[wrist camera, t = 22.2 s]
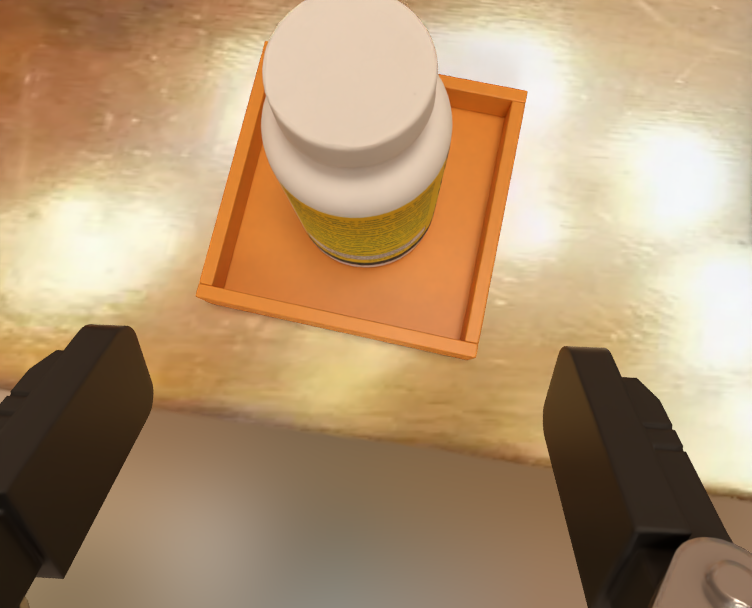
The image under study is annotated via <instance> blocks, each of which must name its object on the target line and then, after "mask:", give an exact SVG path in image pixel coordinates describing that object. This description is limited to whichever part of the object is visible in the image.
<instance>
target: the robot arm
mask: <svg viewBox="0 0 752 608" xmlns="http://www.w3.org/2000/svg"><path fill="white" fill-rule="evenodd" d="M152 403H153V384H152V381H151V378H150V375H149V372H148V369H147V366H146V363H145V360H144V357H143V354H142V351H141V348H140V345H139V342H138V339H137V336H136V333H135V332H134V330H133V329H132V328H131V327H129V326H116V325H93V324H89V325H85V326H84V327H82V328H81V329H80V330H79V332H78V333H77V334H76V335H75V337H74V338H73V339H72V340H71V342H70V343H69V344H68V346H67V347H66V348H65V349H64V351H63V350H56V351H55V352H53V353H52V354H50V355H49V356H47V357H46V358H44V359H43V360H42V361H40V362H39V363H37V364H36V365H34V366H33V367H32V368H30V369H29V370H28V371H27V372H26V374H25V375H24V376H23V377H22V378H21V380H20V381H19V382H18V383H17V384H16V386H15V387H14V388H13V389H12V390H11V395H10V396H6V398H5V399H4V400H3V401H2V402H1V404H0V608H30V607H29V603H28V600H27V599H26V597H25V595H26V593H27V591H28V589H29V588H30V586H31V584H32V582H33V581H34V579H35V577H42V578H58V579H64V577H65V575H66V573H67V571H68V570H69V567H70V566H71V564H72V562H73V560H74V558H75V556H76V554H77V552H78V550H79V548H80V547H81V545H82V543H83V541H84V539H85V537H86V535H87V533H88V531H89V529H90V527H91V525H92V524H93V522H94V519H95V518H96V516H97V514H98V512H99V510H100V508H101V506H102V504H103V502H104V501H105V499H106V497H107V494H108V493H109V491H110V489H111V487H112V485H113V483H114V481H115V479H116V477H117V476H118V474H119V472H120V470H121V468H122V466H123V464H124V462H125V460H126V458H127V456H128V454H129V453H130V451H131V449H132V447H133V445H134V443H135V441H136V439H137V437H138V435H139V433H140V431H141V430H142V428H143V426H144V424H145V422H146V420H147V418H148V416H149V414H150V411H151V408H152ZM543 430H544V436H545V440H546V444H547V448H548V452H549V456H550V460H551V464H552V468H553V472H554V476H555V480H556V484H557V487H558V491H559V495H560V499H561V503H562V507H563V511H564V515H565V519H566V523H567V527H568V531H569V535H570V539H571V543H572V547H573V550H574V554H575V558H576V562H577V566H578V570H579V574H580V578H581V582H582V586H583V590H584V594H585V598H586V602H587V606H588V608H752V553H750V552H749V551H747V550H745V549H744V548H742V547H740V546H737V545H736V544H734V543H733V542H732V540H731V539H730V537H729V535H728V533H727V532H726V530H725V528H724V526H723V524H722V522H721V520H720V518H719V516H718V514H717V512H716V510H715V508H714V506H713V504H712V502H711V500H710V498H709V496H708V494H707V492H706V490H705V488H704V486H703V484H702V482H701V480H700V478H699V477H698V475H697V473H696V471H695V469H694V467H693V465H692V463H691V461H690V459H689V457H688V455H687V453H686V452H684V451H683V445H682V443H681V441H680V439H679V437H678V435H677V433H676V431H675V430H672V423H671V421H670V420H669V418H668V416H667V414H666V412H665V410H664V408H663V406H662V404H661V402H660V400H659V399H658V398H657V397H656V396H655V395H654V394H653V393H652V392H651V391H650V390H649V389H648V388H647V387H646V386H645V385H644V384H642V383H641V382H640V381H639V380H638V379H637V378H627V377H621V374H620V372H619V370H618V368H617V366H616V363H615V361H614V359H613V357H612V355H611V353H610V351H609V350H608V349H606V348H593V347H570V346H564V347H562V349H561V350H560V352H559V355H558V358H557V362H556V365H555V368H554V372H553V375H552V379H551V382H550V386H549V389H548V393H547V396H546V400H545V403H544V409H543Z"/></svg>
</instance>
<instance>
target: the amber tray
mask: <svg viewBox="0 0 752 608" xmlns="http://www.w3.org/2000/svg"><path fill="white" fill-rule="evenodd" d="M267 44H268V41H265V44H264V47H263V51H262V55H261V58H260V62H259V66H258V69H257V73H256V77H255V80H254V84H253V88H252V91H251V95H250V99H249V102H248V106H247V110H246V113H245V117H244V121H243V124H242V128H241V132H240V135H239V139H238V143H237V146H236V150H235V154H234V157H233V161H232V165H231V168H230V172H229V176H228V179H227V183H226V187H225V190H224V194H223V198H222V201H221V205H220V209H219V212H218V216H217V220H216V223H215V227H214V231H213V234H212V238H211V242H210V245H209V249H208V253H207V256H206V260H205V264H204V267H203V271H202V275H201V278H200V284H199V285H198V289H197V292H196V297H198V298H200V299H203V300H205V301H207V302H209V303H212V304H216V305H220V306H225V307H230V308H234V309H239V310H243V311H248V312H252V313H257V314H261V315H266V316H270V317H275V318H279V319H284V320H289V321H293V322H298V323H302V324H307V325H311V326H316V327H320V328H325V329H329V330H334V331H338V332H343V333H348V334H352V335H357V336H361V337H366V338H370V339H375V340H379V341H384V342H388V343H393V344H397V345H402V346H407V347H411V348H416V349H420V350H425V351H429V352H434V353H438V354H443V355H447V356H452V357H456V358H461V359H466V360H469V359H473V358H476V354H477V349H478V343H479V338H480V333H481V328H482V323H483V318H484V313H485V308H486V302H487V297H488V292H489V287H490V282H491V277H492V272H493V267H494V261H495V256H496V251H497V246H498V241H499V236H500V231H501V226H502V220H503V215H504V210H505V205H506V200H507V195H508V190H509V185H510V180H511V174H512V169H513V164H514V159H515V154H516V149H517V144H518V139H519V133H520V128H521V123H522V118H523V113H524V108H525V102H526V98H527V91H524V90H519V89H514V88H509V87H503V86H498V85H493V84H488V83H483V82H477V81H472V80H467V79H462V78H456V77H451V76H446V75H441V74H438V75H439V77H440V78H441V80H442V82H443V84H444V86H445V89H446V91H447V94H448V97H449V101H450V105H451V111H452V136H451V143H450V150H449V153H448V158H447V161H446V167H445V170H444V174H443V178H442V183H441V186H440V191H439V195H438V199H437V203H436V207H435V211H434V215H433V218H432V221H431V224H430V226H429V228H428V230H427V232H426V234H425V236H424V237H423V239H422V240H421V241H420V242H419V244H418V245H417V246H416V247H415V248H414V249H413V250H412V251H411V252H409V253H408V254H407V255H405V256H404V257H402V258H401V259H399V260H397V261H394V262H392V263H389V264H386V265H382V266H377V267H355V266H350V265H346V264H343V263H340V262H338V261H336V260H334V259H332V258H331V257H329V256H328V255H326V254H325V253H324V252H322V251H321V250H320V249H319V248H318V247H317V246H316V245H315V244H314V242H313V241H312V240H311V238H310V237H309V235H308V234H307V232H306V230H305V229H304V227H303V225H302V223H301V221H300V220H299V218H298V216H297V214H296V212H295V210H294V208H293V207H292V205H291V203H290V201H289V199H288V197H287V195H286V194H285V192H284V190H283V188H282V186H281V185H280V183H279V181H278V179H277V178H276V176H275V174H274V172H273V170H272V168H271V166H270V164H269V161H268V159H267V156H266V153H265V150H264V146H263V141H262V134H261V117H262V109H263V104H264V101H265V97H266V94H265V90H264V85H263V76H262V67H263V59H264V53H265V50H266V46H267Z"/></svg>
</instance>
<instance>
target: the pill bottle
mask: <svg viewBox="0 0 752 608" xmlns="http://www.w3.org/2000/svg"><path fill="white" fill-rule="evenodd" d="M262 76H263V85H264V90H265V94H266V97H265V101H264V104H263V109H262V117H261V134H262V141H263V146H264V150H265V153H266V156H267V159H268V161H269V164H270V166H271V168H272V170H273V172H274V174H275V176H276V178H277V179H278V181H279V183H280V185H281V186H282V188H283V190H284V192H285V194H286V195H287V197H288V199H289V201H290V203H291V205H292V207H293V208H294V210H295V212H296V214H297V216H298V218H299V220H300V221H301V223H302V225H303V227H304V229H305V230H306V232H307V234H308V235H309V237H310V238H311V240H312V241H313V242H314V244H315V245H316V246H317V247H318V248H319V249H320V250H321V251H322V252H324V253H325V254H326V255H328V256H329V257H331V258H332V259H334V260H336V261H338V262H340V263H343V264H346V265H350V266H355V267H377V266H382V265H386V264H389V263H392V262H394V261H397V260H399V259H401V258H402V257H404V256H405V255H407V254H408V253H409V252H411V251H412V250H413V249H414V248H415V247H416V246H417V245H418V244H419V242H420V241H421V240H422V239H423V237H424V236H425V234H426V232H427V230H428V228H429V226H430V224H431V221H432V218H433V215H434V211H435V207H436V203H437V199H438V195H439V191H440V186H441V183H442V178H443V174H444V170H445V167H446V161H447V158H448V153H449V150H450V143H451V136H452V111H451V105H450V101H449V97H448V94H447V91H446V89H445V86H444V84H443V82H442V80H441V78H440V77H439V75H438V63H437V56H436V51H435V47H434V44H433V41H432V39H431V36H430V34H429V32H428V30H427V29H426V27H425V26H424V24H423V23H422V21H421V20H420V19H419V18H418V17H417V16H416V15H415V14H414V12H413V11H412V10H410V9H409V8H408V7H407V6H405V5H404V4H402V3H401V2H399V1H398V0H305V1H303V2H301V3H300V4H299V5H297V6H296V7H295V8H293V9H292V10H291V11H290V12H289V13H288V14H287V15H286V16H285V17H284V18H283V19H282V20H281V21H280V23H279V24H278V25H277V27H276V28H275V30H274V32H273V33H272V35H271V37H270V39H269V41H268V44H267V46H266V50H265V53H264V59H263V67H262Z"/></svg>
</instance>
